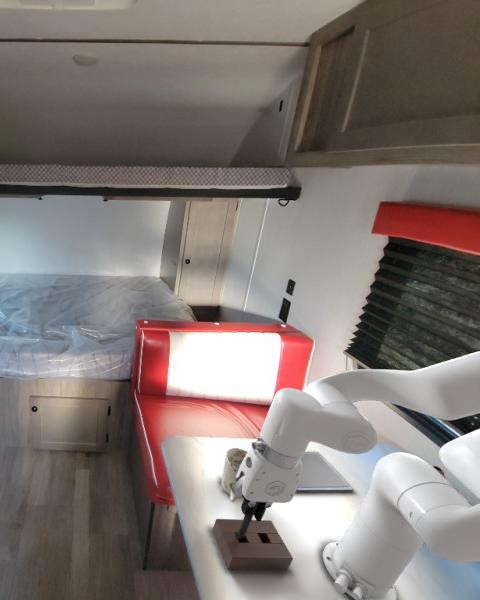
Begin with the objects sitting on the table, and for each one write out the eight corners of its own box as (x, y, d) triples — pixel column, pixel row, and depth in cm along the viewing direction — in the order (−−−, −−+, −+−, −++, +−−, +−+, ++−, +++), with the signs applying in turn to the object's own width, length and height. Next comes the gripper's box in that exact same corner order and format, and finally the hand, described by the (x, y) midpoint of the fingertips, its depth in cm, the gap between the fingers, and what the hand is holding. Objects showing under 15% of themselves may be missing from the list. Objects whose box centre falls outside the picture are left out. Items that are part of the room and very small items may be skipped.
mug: (250, 483, 92) (260, 456, 88) (248, 522, 81) (260, 493, 77) (218, 470, 95) (227, 443, 91) (213, 505, 84) (223, 476, 81)
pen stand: (287, 570, 72) (293, 558, 70) (227, 569, 71) (232, 557, 69) (266, 531, 79) (271, 520, 78) (212, 530, 78) (216, 518, 77)
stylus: (241, 541, 73) (259, 499, 68) (235, 535, 74) (252, 494, 69) (244, 537, 74) (262, 496, 69) (238, 532, 75) (256, 490, 70)
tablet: (317, 454, 105) (318, 452, 104) (352, 491, 93) (353, 489, 92) (258, 453, 102) (259, 451, 102) (286, 492, 90) (287, 489, 90)
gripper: (249, 463, 60) (222, 531, 67) (330, 467, 61) (295, 534, 68) (230, 432, 67) (208, 496, 74) (303, 436, 68) (274, 499, 75)
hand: (250, 514), depth 71 cm, fingers closed on stylus, 1 cm apart
